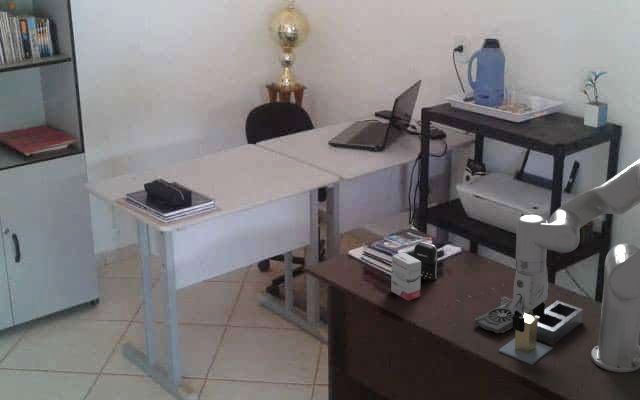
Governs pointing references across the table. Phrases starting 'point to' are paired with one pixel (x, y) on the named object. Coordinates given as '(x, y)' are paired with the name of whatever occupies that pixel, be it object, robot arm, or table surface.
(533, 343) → the brass peg
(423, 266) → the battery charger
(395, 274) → the ink box
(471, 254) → the table surface
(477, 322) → the graphics card
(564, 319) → the cinder block
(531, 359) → the mat
